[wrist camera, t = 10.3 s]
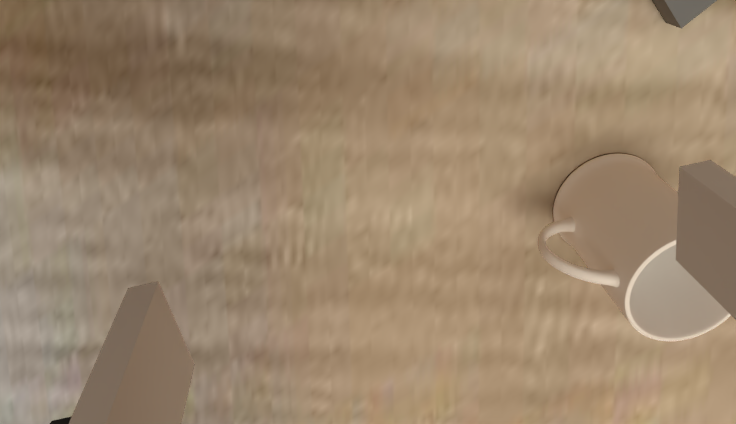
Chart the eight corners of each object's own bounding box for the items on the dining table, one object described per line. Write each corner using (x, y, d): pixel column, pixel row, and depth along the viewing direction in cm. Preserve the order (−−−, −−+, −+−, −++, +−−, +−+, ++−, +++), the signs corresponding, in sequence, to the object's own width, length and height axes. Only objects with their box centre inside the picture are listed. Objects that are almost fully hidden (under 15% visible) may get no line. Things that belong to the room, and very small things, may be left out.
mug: (502, 245, 50) (555, 342, 39) (525, 145, 46) (592, 222, 35) (639, 252, 51) (727, 347, 41) (673, 156, 48) (780, 233, 37)
